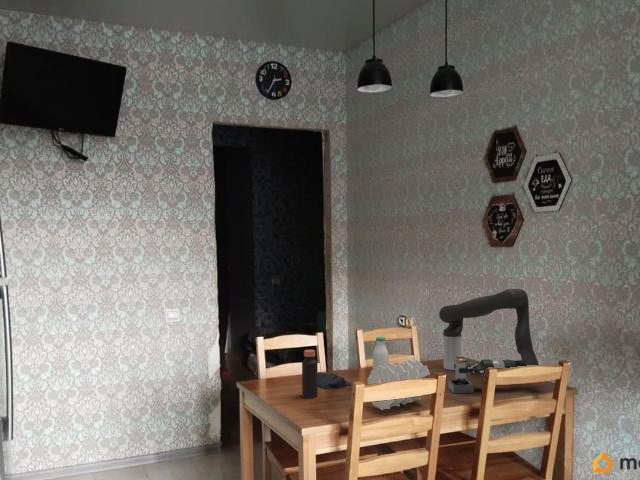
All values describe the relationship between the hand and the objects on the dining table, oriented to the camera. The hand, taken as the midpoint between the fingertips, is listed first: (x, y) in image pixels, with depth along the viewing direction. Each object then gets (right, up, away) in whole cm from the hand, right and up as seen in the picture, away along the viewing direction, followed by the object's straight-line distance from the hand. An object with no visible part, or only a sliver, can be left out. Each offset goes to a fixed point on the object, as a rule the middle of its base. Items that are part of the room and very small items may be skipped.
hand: (456, 368), depth 260 cm
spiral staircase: (-30, -11, -21) cm, 38 cm away
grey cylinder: (+2, -9, 0) cm, 10 cm away
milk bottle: (-32, -10, +24) cm, 41 cm away
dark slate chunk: (-58, -11, +16) cm, 61 cm away
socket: (+2, -10, 0) cm, 10 cm away
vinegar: (-66, -11, -7) cm, 67 cm away
